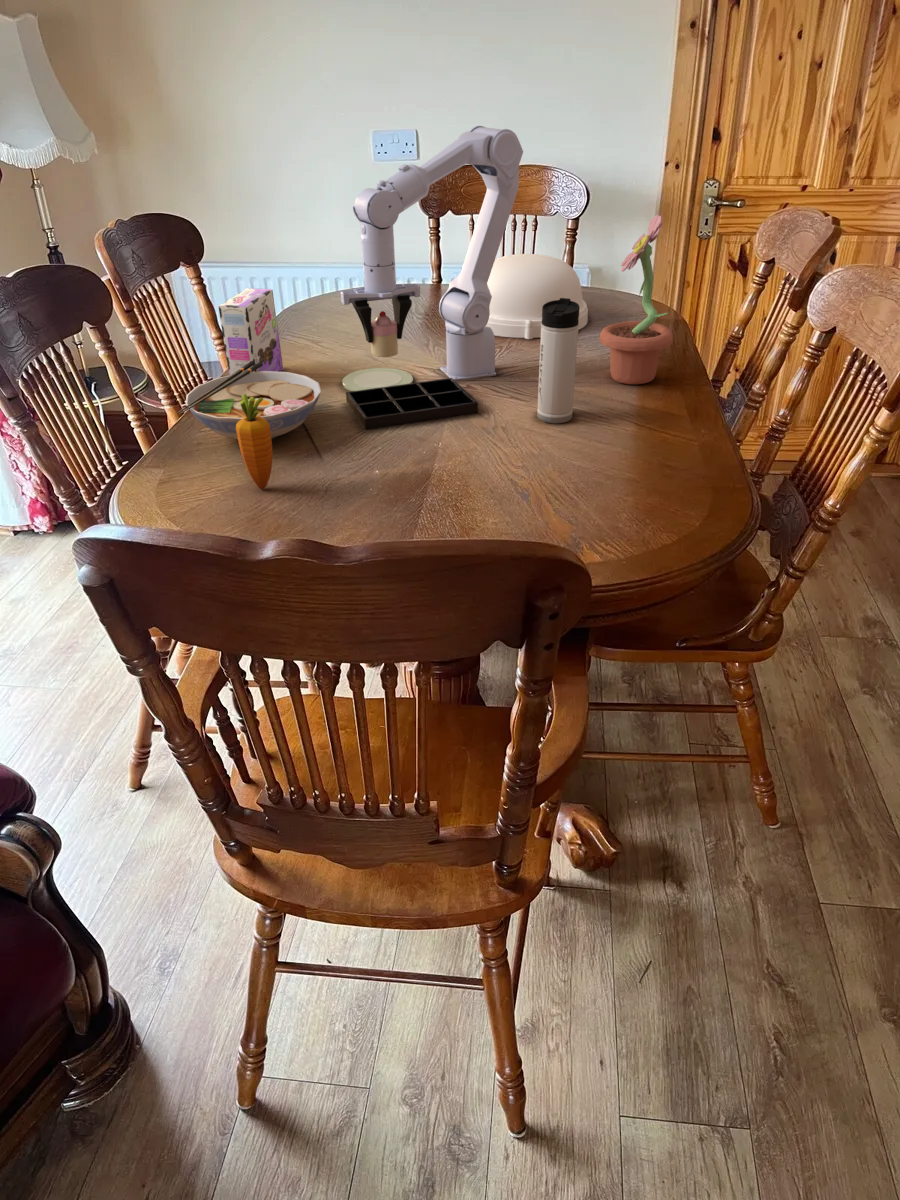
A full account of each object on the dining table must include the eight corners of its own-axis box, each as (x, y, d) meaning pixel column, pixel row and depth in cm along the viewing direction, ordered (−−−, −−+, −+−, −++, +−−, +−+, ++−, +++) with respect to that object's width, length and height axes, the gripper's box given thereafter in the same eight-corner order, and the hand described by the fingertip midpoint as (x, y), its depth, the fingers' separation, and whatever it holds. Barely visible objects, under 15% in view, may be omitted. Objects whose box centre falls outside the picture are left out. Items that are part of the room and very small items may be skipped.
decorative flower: (598, 364, 174) (612, 206, 158) (667, 367, 172) (687, 208, 155) (594, 388, 162) (608, 221, 146) (667, 392, 160) (690, 223, 143)
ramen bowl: (281, 472, 133) (274, 423, 129) (161, 453, 140) (150, 406, 136) (350, 415, 153) (346, 371, 148) (242, 401, 160) (235, 359, 155)
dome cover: (595, 338, 189) (601, 273, 181) (462, 340, 189) (462, 274, 182) (579, 301, 215) (583, 242, 207) (463, 302, 216) (462, 244, 208)
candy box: (258, 392, 163) (246, 306, 154) (230, 391, 164) (216, 305, 155) (284, 369, 175) (273, 287, 165) (257, 368, 176) (245, 286, 166)
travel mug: (575, 412, 152) (583, 299, 141) (568, 425, 147) (575, 309, 136) (542, 408, 154) (547, 296, 143) (533, 421, 149) (538, 306, 138)
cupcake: (393, 347, 162) (391, 306, 157) (402, 355, 158) (399, 313, 153) (367, 350, 160) (365, 309, 156) (375, 359, 156) (372, 316, 152)
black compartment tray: (346, 404, 158) (345, 392, 156) (452, 389, 163) (451, 377, 162) (365, 432, 146) (364, 419, 145) (478, 415, 152) (478, 402, 151)
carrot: (248, 483, 130) (232, 389, 122) (280, 481, 131) (266, 388, 122) (244, 497, 126) (227, 401, 118) (277, 495, 127) (263, 400, 118)
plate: (401, 368, 174) (401, 364, 174) (422, 390, 163) (421, 385, 163) (335, 376, 170) (335, 372, 170) (352, 399, 159) (351, 395, 159)
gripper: (345, 272, 145) (351, 350, 153) (424, 264, 149) (427, 340, 157) (335, 263, 150) (342, 339, 158) (412, 256, 154) (415, 330, 162)
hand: (383, 339), depth 158 cm, fingers closed on cupcake, 5 cm apart
